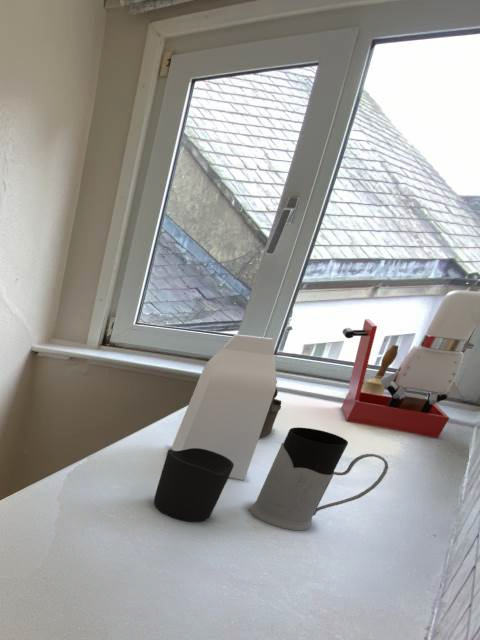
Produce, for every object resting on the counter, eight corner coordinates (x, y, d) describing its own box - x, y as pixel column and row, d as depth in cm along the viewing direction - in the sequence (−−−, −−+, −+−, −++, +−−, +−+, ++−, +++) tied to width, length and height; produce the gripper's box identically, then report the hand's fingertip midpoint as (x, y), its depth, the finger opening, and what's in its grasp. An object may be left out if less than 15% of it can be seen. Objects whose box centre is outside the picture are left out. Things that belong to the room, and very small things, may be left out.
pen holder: (213, 530, 89) (236, 475, 84) (149, 513, 93) (167, 460, 88) (210, 506, 96) (231, 454, 92) (151, 492, 100) (168, 441, 96)
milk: (175, 466, 111) (221, 337, 99) (171, 447, 120) (213, 327, 109) (244, 480, 107) (300, 347, 95) (234, 459, 116) (285, 335, 104)
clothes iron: (225, 436, 128) (246, 380, 122) (234, 419, 140) (254, 368, 133) (265, 445, 124) (290, 388, 118) (272, 427, 135) (294, 374, 129)
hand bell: (386, 399, 163) (414, 346, 156) (385, 405, 157) (414, 350, 150) (350, 392, 168) (376, 340, 161) (348, 398, 162) (374, 344, 155)
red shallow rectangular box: (425, 423, 144) (436, 404, 142) (437, 438, 134) (449, 417, 132) (340, 408, 153) (349, 389, 150) (346, 421, 143) (355, 401, 140)
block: (408, 420, 143) (422, 395, 140) (412, 426, 139) (427, 399, 136) (388, 417, 145) (401, 391, 142) (391, 422, 141) (405, 396, 138)
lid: (369, 319, 143) (343, 319, 146) (377, 326, 133) (349, 326, 136) (352, 388, 150) (327, 387, 153) (358, 400, 140) (332, 399, 143)
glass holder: (247, 499, 99) (281, 422, 92) (345, 522, 93) (389, 441, 86) (251, 520, 92) (288, 438, 86) (358, 546, 86) (407, 460, 80)
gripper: (486, 347, 131) (445, 419, 140) (393, 336, 140) (359, 404, 148) (496, 353, 126) (452, 427, 134) (398, 340, 134) (363, 411, 142)
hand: (404, 414), depth 141 cm, fingers open, 4 cm apart
